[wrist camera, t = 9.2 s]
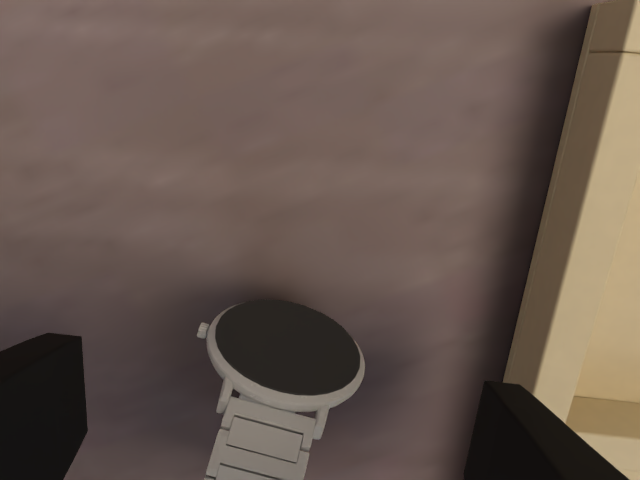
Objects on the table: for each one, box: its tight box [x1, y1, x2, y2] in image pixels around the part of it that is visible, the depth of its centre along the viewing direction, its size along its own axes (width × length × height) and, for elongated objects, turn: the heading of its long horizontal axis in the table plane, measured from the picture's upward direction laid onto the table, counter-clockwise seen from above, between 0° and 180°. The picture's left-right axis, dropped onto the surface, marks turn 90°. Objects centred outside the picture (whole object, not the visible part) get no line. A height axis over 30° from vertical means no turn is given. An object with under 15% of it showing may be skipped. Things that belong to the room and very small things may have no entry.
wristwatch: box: [197, 300, 365, 480], centre depth 10 cm, size 3×5×5 cm, turn 164°
